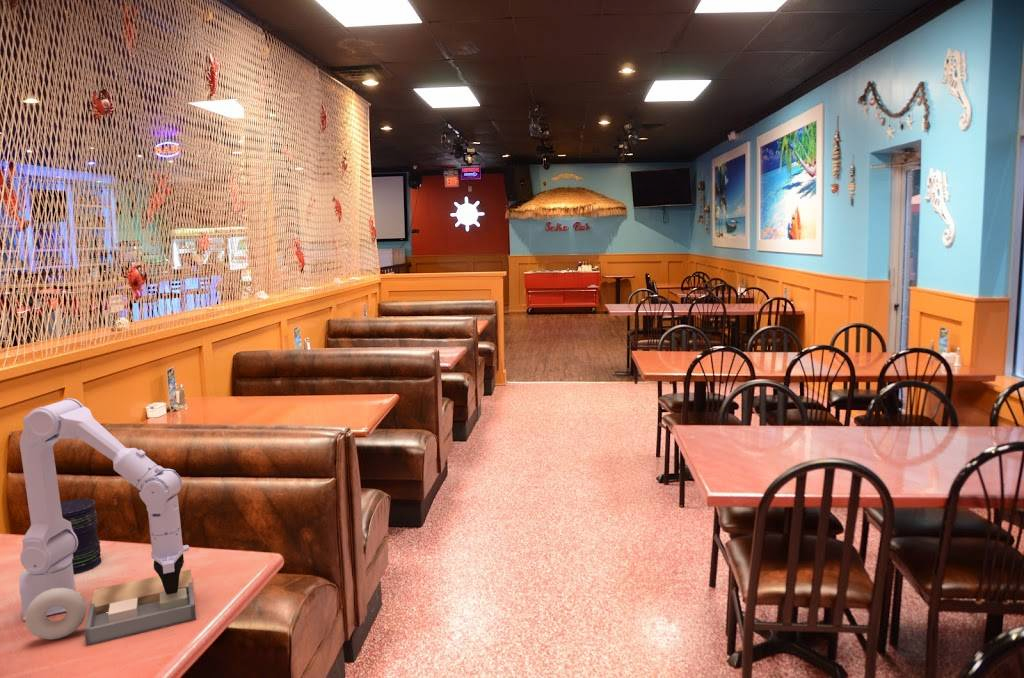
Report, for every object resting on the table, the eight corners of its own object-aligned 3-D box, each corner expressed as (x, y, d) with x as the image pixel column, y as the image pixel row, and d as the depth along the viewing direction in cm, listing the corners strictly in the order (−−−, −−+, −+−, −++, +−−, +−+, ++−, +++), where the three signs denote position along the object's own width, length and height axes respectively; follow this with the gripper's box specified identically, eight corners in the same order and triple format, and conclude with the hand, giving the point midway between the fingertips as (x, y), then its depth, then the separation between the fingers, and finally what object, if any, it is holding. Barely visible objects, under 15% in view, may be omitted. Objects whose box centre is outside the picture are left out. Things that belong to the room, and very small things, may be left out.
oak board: (91, 617, 145) (90, 607, 145) (95, 598, 153) (94, 589, 153) (193, 594, 153) (192, 585, 153) (191, 577, 161) (190, 569, 161)
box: (86, 645, 134) (84, 630, 134) (91, 617, 145) (89, 604, 144) (196, 619, 142) (194, 605, 142) (193, 595, 153) (192, 581, 152)
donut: (27, 649, 134) (20, 599, 132) (29, 640, 137) (23, 591, 135) (88, 635, 138) (82, 586, 137) (89, 626, 141) (84, 579, 140)
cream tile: (109, 624, 141) (108, 614, 141) (111, 612, 146) (109, 603, 145) (137, 617, 143) (136, 608, 143) (138, 606, 148) (137, 597, 147)
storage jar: (49, 579, 163) (41, 516, 161) (57, 562, 172) (50, 503, 170) (99, 570, 167) (92, 508, 165) (104, 554, 176) (97, 495, 174)
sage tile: (160, 612, 145) (159, 603, 145) (160, 602, 149) (159, 593, 149) (187, 606, 147) (186, 597, 147) (186, 596, 151) (185, 587, 151)
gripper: (188, 538, 142) (194, 602, 144) (185, 514, 155) (191, 574, 157) (148, 545, 139) (155, 611, 141) (149, 521, 152) (155, 581, 153)
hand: (171, 592), depth 148 cm, fingers closed
